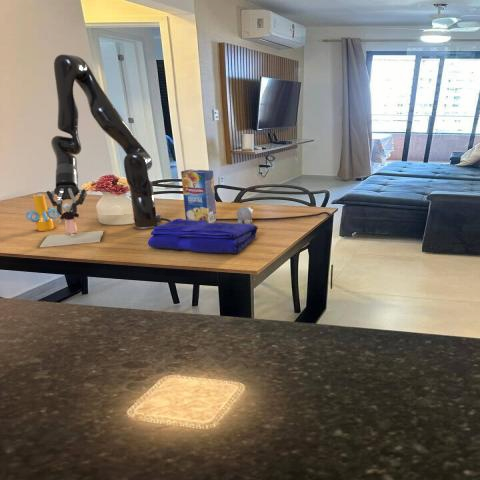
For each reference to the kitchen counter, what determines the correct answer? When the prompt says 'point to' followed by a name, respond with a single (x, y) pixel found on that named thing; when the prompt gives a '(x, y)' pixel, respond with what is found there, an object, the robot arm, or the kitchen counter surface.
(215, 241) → the towel
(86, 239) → the cloth
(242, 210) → the round bodied animal figurine
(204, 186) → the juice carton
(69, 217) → the grandmother figurine
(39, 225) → the yellow cone toy
